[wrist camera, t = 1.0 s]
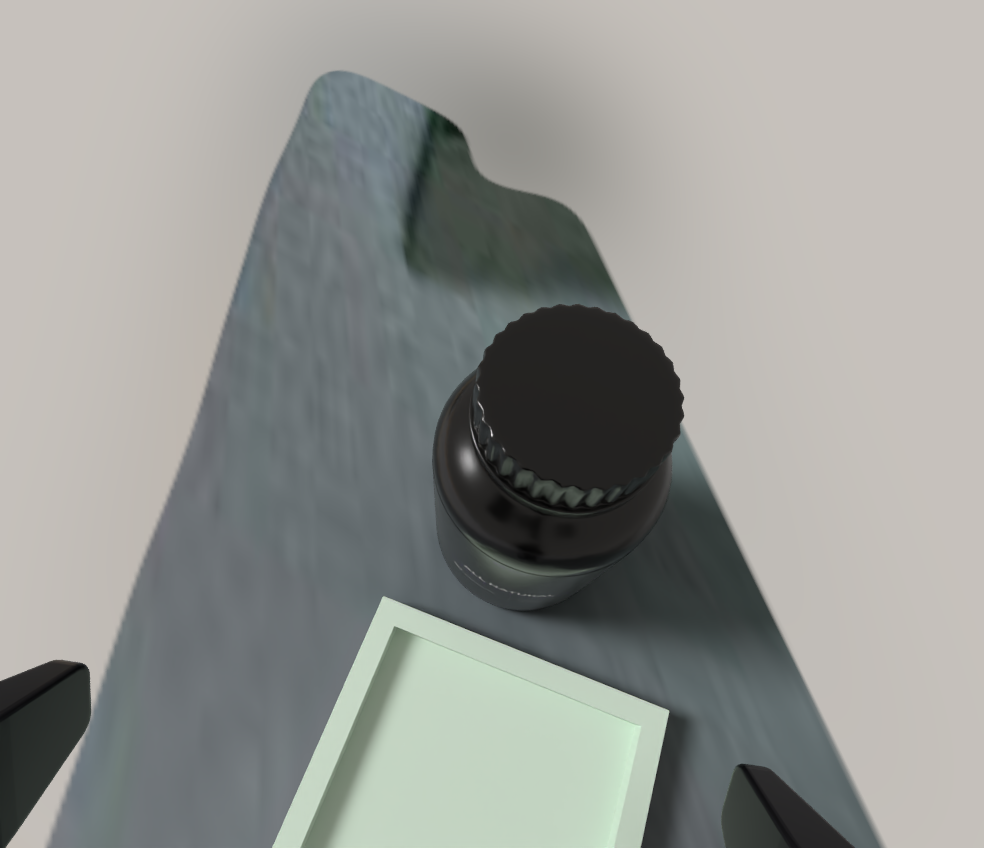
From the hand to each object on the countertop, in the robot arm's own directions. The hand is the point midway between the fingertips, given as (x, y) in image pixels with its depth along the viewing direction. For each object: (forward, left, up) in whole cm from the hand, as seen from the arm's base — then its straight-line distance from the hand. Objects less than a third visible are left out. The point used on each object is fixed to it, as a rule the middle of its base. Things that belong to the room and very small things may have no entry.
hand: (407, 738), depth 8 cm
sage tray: (-3, -2, -14) cm, 14 cm away
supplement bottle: (+7, -1, -14) cm, 16 cm away
